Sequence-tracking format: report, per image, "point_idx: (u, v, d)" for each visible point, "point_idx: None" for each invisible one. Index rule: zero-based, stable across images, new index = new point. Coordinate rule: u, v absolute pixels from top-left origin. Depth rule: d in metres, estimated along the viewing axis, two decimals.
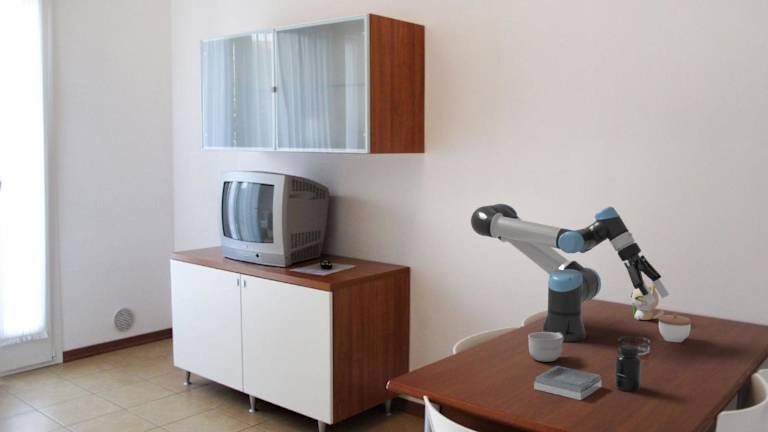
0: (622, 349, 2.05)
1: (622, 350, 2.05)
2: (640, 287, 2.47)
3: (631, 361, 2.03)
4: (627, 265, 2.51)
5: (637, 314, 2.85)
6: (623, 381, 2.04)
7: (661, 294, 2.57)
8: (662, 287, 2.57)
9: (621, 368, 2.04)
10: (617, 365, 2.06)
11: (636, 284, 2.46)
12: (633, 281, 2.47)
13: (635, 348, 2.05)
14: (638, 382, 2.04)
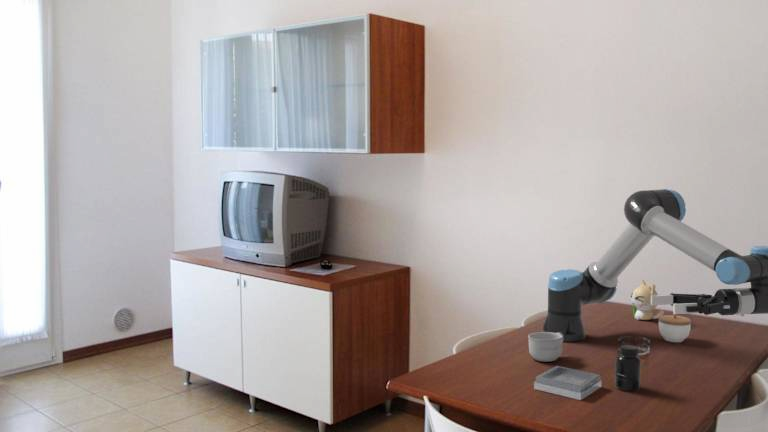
0: (622, 349, 2.05)
1: (622, 350, 2.05)
2: (699, 309, 1.99)
3: (631, 361, 2.03)
4: (725, 305, 2.02)
5: (637, 314, 2.85)
6: (623, 381, 2.04)
7: (656, 297, 2.14)
8: (662, 303, 2.14)
9: (621, 368, 2.04)
10: (617, 365, 2.06)
11: (707, 310, 1.98)
12: (711, 307, 1.98)
13: (635, 348, 2.05)
14: (638, 382, 2.04)
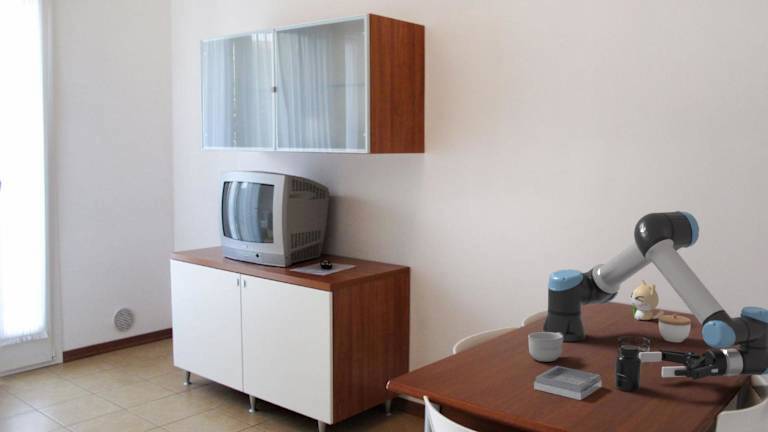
0: (622, 349, 2.05)
1: (622, 350, 2.05)
2: (687, 373, 1.99)
3: (631, 361, 2.03)
4: (714, 369, 2.01)
5: (637, 314, 2.85)
6: (623, 381, 2.04)
7: (644, 354, 2.13)
8: (650, 360, 2.13)
9: (621, 368, 2.04)
10: (617, 365, 2.06)
11: (695, 375, 1.98)
12: (699, 372, 1.98)
13: (635, 348, 2.05)
14: (638, 382, 2.04)
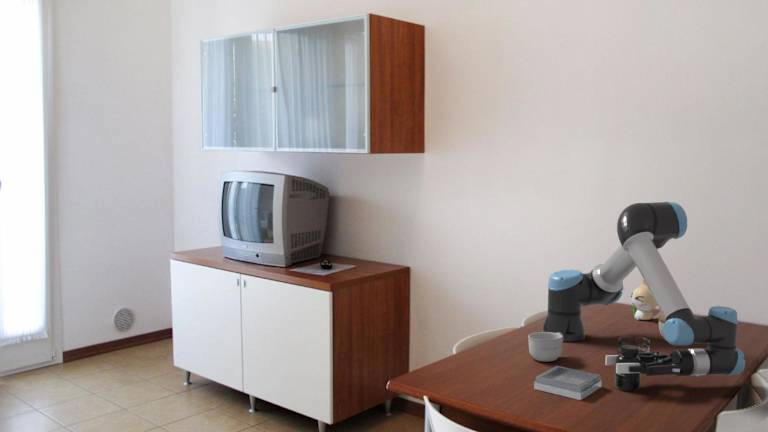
0: (622, 349, 2.05)
1: (622, 350, 2.05)
2: (641, 369, 2.01)
3: (631, 360, 2.03)
4: (674, 368, 2.01)
5: (637, 314, 2.85)
6: (623, 381, 2.04)
7: (611, 358, 2.09)
8: None
9: None
10: None
11: (648, 371, 2.00)
12: (653, 369, 2.00)
13: (635, 348, 2.05)
14: (638, 382, 2.04)
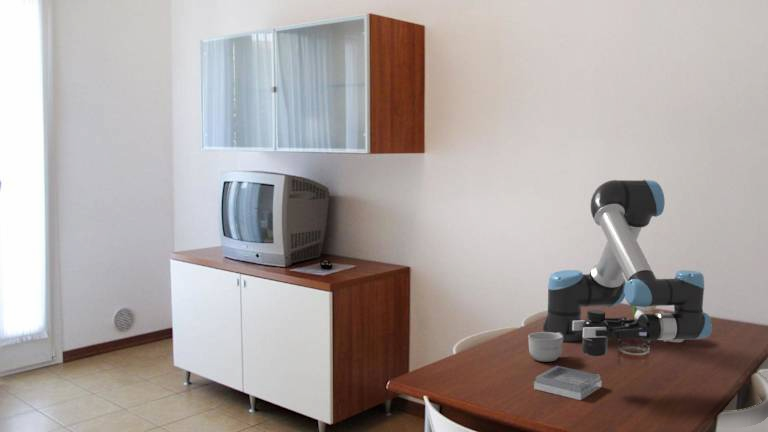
0: (589, 313, 2.03)
1: (589, 314, 2.03)
2: (607, 333, 1.99)
3: (597, 325, 2.01)
4: (641, 332, 1.99)
5: (637, 314, 2.85)
6: (590, 346, 2.02)
7: (578, 323, 2.07)
8: None
9: None
10: None
11: (614, 335, 1.97)
12: (620, 332, 1.98)
13: (602, 312, 2.02)
14: (605, 346, 2.02)
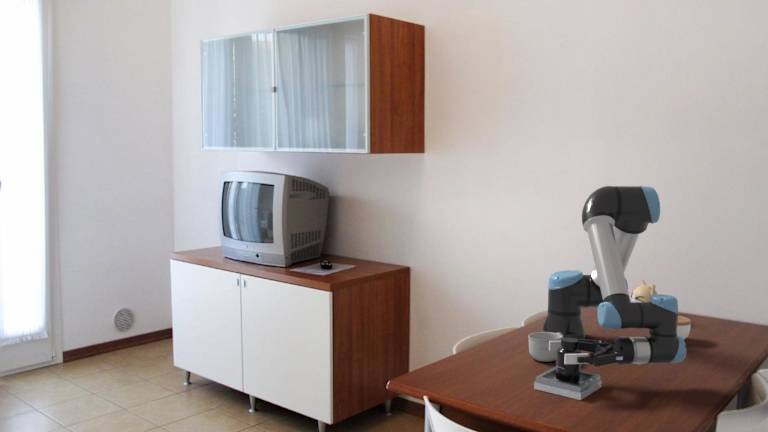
0: (562, 342, 2.05)
1: (562, 343, 2.05)
2: (589, 360, 1.98)
3: (570, 353, 2.03)
4: (618, 356, 2.00)
5: None
6: (563, 374, 2.04)
7: (554, 343, 2.11)
8: None
9: (561, 361, 2.04)
10: (557, 358, 2.05)
11: (596, 362, 1.97)
12: (601, 359, 1.97)
13: (575, 341, 2.04)
14: (578, 375, 2.04)
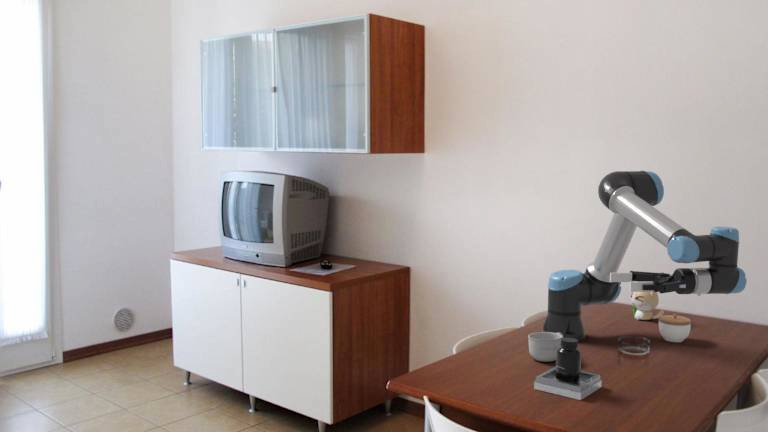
0: (562, 342, 2.05)
1: (562, 343, 2.05)
2: (654, 287, 2.01)
3: (570, 353, 2.03)
4: (681, 284, 2.03)
5: (637, 314, 2.85)
6: (563, 374, 2.04)
7: (615, 275, 2.15)
8: (621, 280, 2.16)
9: (561, 361, 2.04)
10: (557, 358, 2.05)
11: (662, 288, 2.00)
12: (666, 286, 2.00)
13: (575, 341, 2.04)
14: (578, 375, 2.04)
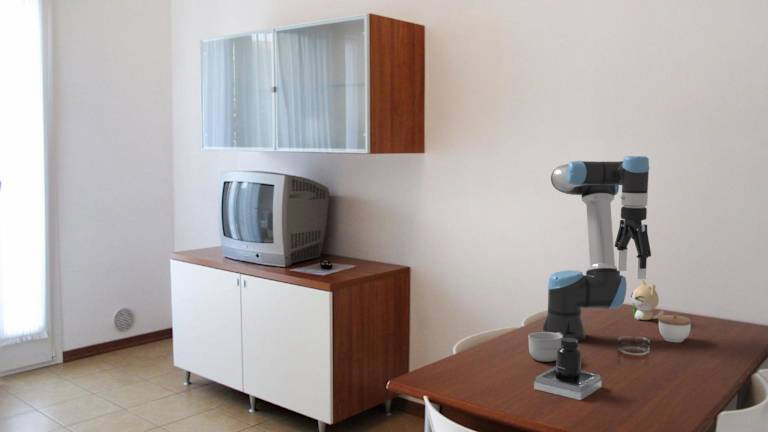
0: (562, 342, 2.05)
1: (562, 343, 2.05)
2: None
3: (570, 353, 2.03)
4: None
5: (637, 314, 2.85)
6: (563, 374, 2.04)
7: None
8: None
9: (561, 361, 2.04)
10: (557, 358, 2.05)
11: None
12: None
13: (575, 341, 2.04)
14: (578, 375, 2.04)
